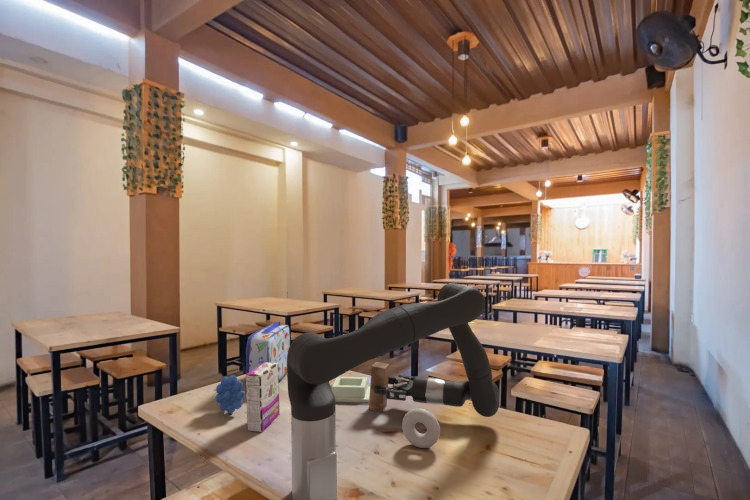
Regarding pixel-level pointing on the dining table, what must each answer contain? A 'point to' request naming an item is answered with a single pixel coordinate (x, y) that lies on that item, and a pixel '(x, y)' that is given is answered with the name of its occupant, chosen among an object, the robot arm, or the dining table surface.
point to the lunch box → (269, 348)
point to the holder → (351, 389)
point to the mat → (350, 402)
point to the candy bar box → (262, 396)
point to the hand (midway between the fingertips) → (379, 384)
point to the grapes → (230, 394)
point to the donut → (428, 420)
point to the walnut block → (380, 379)
